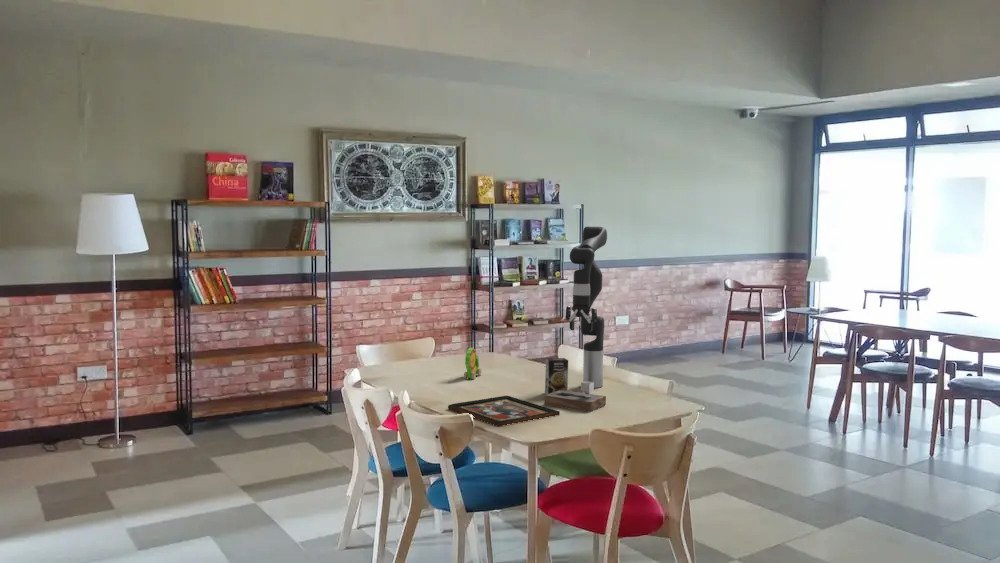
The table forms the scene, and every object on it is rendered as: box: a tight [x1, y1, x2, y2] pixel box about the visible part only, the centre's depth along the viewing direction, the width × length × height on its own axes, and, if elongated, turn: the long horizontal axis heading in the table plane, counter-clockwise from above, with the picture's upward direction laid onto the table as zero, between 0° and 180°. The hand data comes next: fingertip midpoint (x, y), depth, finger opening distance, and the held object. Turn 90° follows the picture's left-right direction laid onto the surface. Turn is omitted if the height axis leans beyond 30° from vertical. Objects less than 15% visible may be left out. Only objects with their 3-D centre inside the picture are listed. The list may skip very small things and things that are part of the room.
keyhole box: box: [543, 390, 607, 413], centre depth 344 cm, size 14×22×4 cm, turn 56°
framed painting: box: [447, 395, 561, 427], centre depth 331 cm, size 38×35×3 cm
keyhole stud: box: [580, 381, 595, 399], centre depth 341 cm, size 4×4×10 cm
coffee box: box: [544, 357, 569, 395], centre depth 365 cm, size 9×6×16 cm
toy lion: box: [463, 347, 482, 380], centre depth 401 cm, size 16×5×15 cm, turn 164°
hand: (580, 330), depth 354 cm, fingers open, 8 cm apart
